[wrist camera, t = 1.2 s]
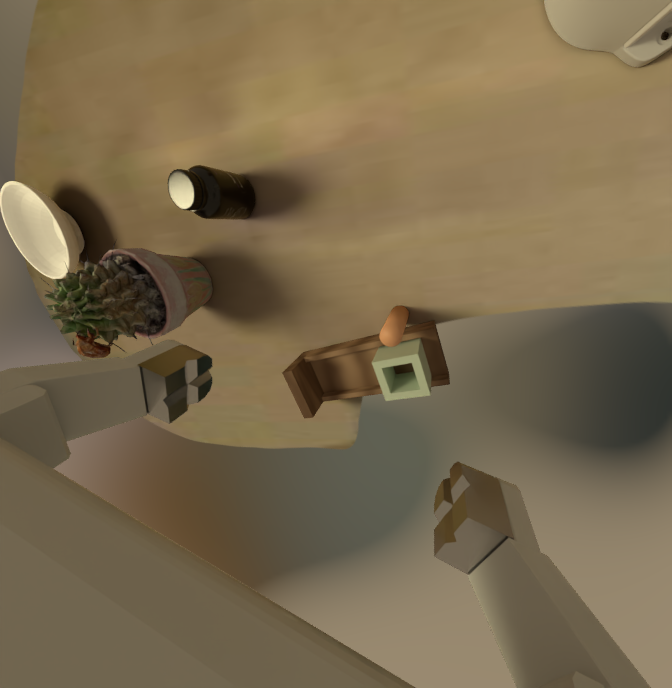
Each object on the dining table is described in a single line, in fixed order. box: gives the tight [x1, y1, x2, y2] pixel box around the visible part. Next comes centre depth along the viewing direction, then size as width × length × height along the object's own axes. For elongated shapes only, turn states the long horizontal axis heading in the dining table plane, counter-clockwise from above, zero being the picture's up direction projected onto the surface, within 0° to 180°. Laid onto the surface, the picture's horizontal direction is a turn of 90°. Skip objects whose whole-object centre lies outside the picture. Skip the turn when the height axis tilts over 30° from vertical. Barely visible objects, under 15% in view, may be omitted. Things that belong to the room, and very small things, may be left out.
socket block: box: [372, 338, 432, 401], centre depth 42 cm, size 7×7×6 cm
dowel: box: [379, 306, 409, 347], centre depth 40 cm, size 3×3×10 cm
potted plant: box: [41, 241, 213, 358], centre depth 46 cm, size 18×20×25 cm
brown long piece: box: [283, 321, 450, 418], centre depth 46 cm, size 26×10×8 cm, turn 112°
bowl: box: [0, 181, 84, 279], centre depth 60 cm, size 20×20×7 cm
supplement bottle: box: [168, 165, 255, 219], centre depth 40 cm, size 7×7×12 cm
